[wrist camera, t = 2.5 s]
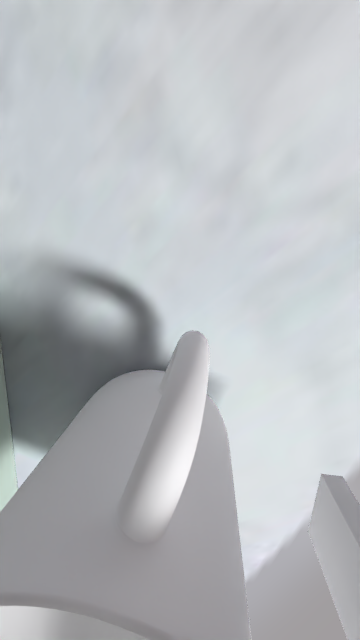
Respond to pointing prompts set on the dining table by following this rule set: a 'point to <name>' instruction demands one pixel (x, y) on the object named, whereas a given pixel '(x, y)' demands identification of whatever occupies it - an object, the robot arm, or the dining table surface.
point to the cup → (130, 518)
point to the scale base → (5, 445)
